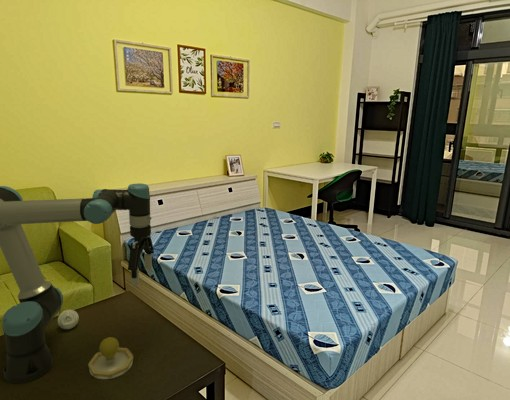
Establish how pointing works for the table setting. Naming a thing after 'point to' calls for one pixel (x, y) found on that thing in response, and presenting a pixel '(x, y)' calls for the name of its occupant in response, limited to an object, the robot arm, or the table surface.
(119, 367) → the socket base
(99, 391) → the table surface
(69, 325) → the motion sensor
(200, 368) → the table surface
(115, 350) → the light bulb
